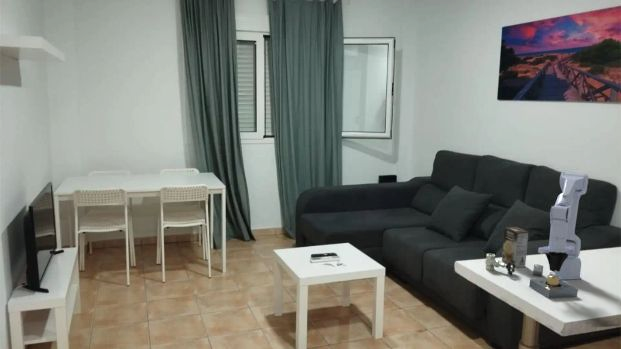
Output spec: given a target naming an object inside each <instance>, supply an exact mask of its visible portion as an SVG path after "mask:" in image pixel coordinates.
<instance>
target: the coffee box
mask: <svg viewBox="0 0 621 349" xmlns="http://www.w3.org/2000/svg"><path fill="white" fill-rule="evenodd" d="M528 241H529V231H527V230H525V229H522V228H520V227H517V226H509V227H504V233H503V243H502V254H501V262H502V263H504V264H506V265H507V264H508V263H511V260H514V261H516V263H515V265H516V267H515V268H521V267H522V268H523V267H526V261H527V252H528V251H527V250H528ZM512 266H513V265H512Z"/></svg>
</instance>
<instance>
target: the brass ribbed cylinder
mask: <svg viewBox="0 0 621 349" xmlns="http://www.w3.org/2000/svg"><path fill="white" fill-rule="evenodd" d="M546 279H547V285H549V286H553V287H558V283H559V277H558V276H556V275H552V274H547V277H546Z"/></svg>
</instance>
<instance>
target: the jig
mask: <svg viewBox="0 0 621 349" xmlns="http://www.w3.org/2000/svg"><path fill="white" fill-rule="evenodd" d="M528 287H529V288H531V289H533V290H534V291H536V292H537V293H539V294H541V295H542V296H544V297H545V298H548V299H561V298H577V297H578V293H579V292H578V290H579V289H578V288H577V287H574V286H572V284H569V283H567V282H565V281H564V280H561V279H559V283H558V287H553V286H549V285H547V278H533V279H532V278H531V279H529V286H528Z"/></svg>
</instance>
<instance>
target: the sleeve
mask: <svg viewBox="0 0 621 349" xmlns="http://www.w3.org/2000/svg"><path fill="white" fill-rule="evenodd" d="M532 272H533V274H532V275H533V276H536V277H542V276H543V273H544V265H541V264H534V265H533V271H532Z"/></svg>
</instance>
